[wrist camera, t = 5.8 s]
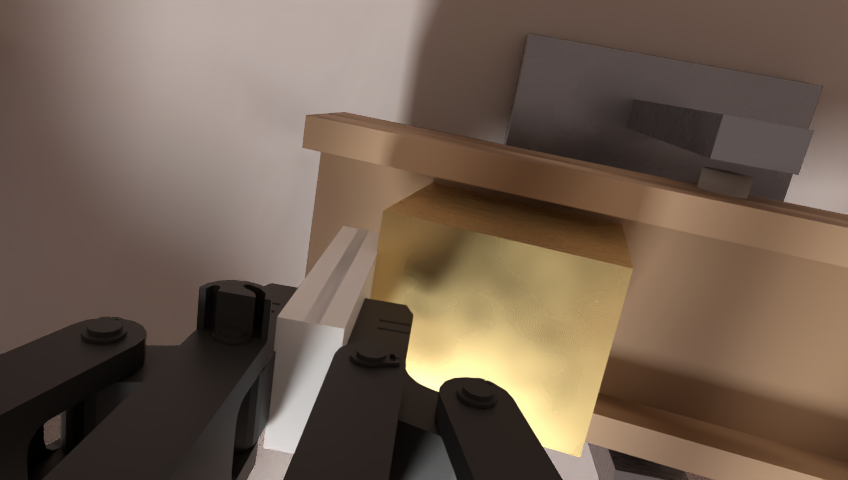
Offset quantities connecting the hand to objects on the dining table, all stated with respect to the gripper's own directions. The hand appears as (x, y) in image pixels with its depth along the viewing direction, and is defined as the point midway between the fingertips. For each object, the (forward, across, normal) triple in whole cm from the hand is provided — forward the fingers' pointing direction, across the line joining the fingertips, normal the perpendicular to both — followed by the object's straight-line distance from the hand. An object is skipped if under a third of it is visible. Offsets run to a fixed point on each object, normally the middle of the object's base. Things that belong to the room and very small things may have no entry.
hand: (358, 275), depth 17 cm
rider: (+3, +4, 0) cm, 5 cm away
